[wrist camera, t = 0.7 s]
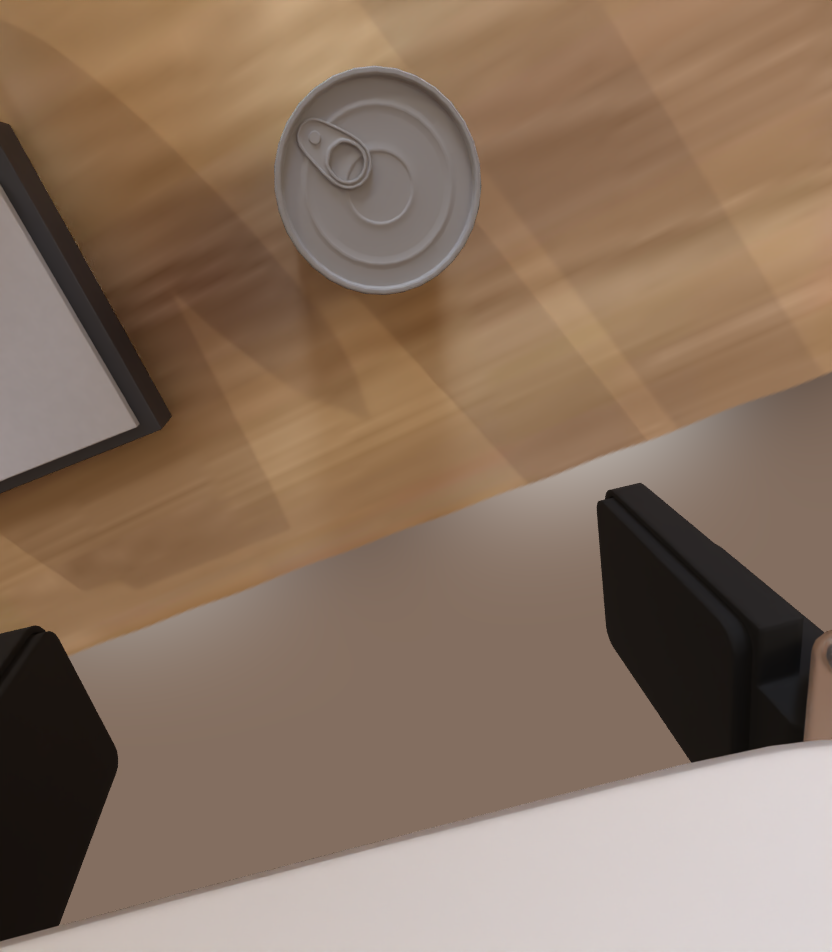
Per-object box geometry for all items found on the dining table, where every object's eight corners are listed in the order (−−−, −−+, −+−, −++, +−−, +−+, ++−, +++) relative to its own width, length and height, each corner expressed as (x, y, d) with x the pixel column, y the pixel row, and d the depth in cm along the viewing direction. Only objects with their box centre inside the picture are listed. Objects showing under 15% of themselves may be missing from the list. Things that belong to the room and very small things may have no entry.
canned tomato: (464, 180, 34) (523, 161, 24) (384, 303, 36) (407, 334, 26) (341, 80, 31) (348, 11, 21) (262, 218, 33) (234, 214, 23)
